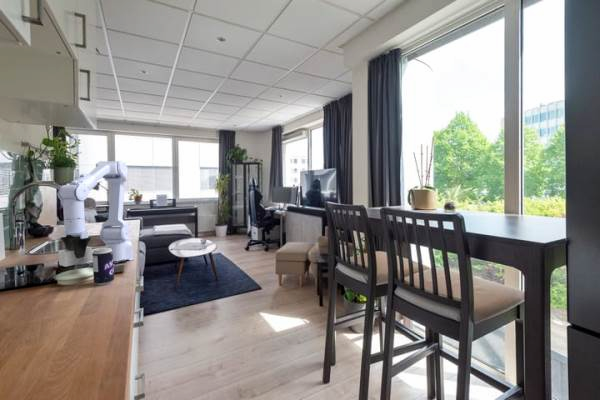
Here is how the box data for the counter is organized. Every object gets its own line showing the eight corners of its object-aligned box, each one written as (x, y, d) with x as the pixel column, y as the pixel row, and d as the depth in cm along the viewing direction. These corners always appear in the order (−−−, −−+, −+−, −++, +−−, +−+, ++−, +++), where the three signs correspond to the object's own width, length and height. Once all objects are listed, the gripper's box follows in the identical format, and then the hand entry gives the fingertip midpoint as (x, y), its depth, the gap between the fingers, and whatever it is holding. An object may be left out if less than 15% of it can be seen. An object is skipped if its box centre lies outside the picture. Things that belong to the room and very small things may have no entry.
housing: (86, 259, 103) (85, 245, 103) (92, 260, 100) (91, 246, 100) (59, 264, 96) (58, 249, 96) (65, 266, 94) (64, 251, 93)
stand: (89, 272, 107) (89, 266, 107) (105, 277, 101) (104, 270, 101) (49, 282, 97) (49, 275, 97) (64, 288, 91) (63, 280, 90)
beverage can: (106, 286, 92) (104, 250, 92) (89, 286, 93) (87, 250, 92) (117, 280, 98) (116, 246, 97) (102, 280, 98) (100, 246, 98)
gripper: (51, 218, 98) (54, 256, 99) (69, 221, 90) (71, 262, 91) (75, 216, 104) (77, 252, 105) (94, 218, 97) (96, 257, 97)
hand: (76, 256), depth 98 cm, fingers closed on housing, 5 cm apart
